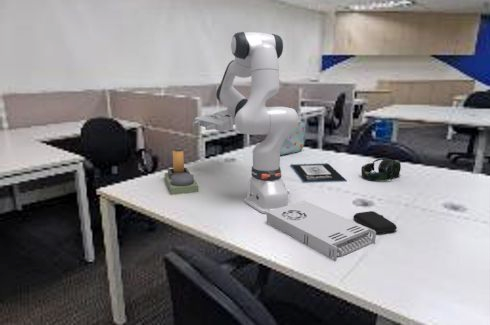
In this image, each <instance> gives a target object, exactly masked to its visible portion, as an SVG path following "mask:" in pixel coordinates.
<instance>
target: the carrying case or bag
mask: <svg viewBox="0 0 490 325" xmlns="http://www.w3.org/2000/svg"><path fill="white" fill-rule="evenodd" d="M353 219H354V220H355V222H356V223H358V224H360V225H363V226H365V227H367V228H370V229H372V230H374V231H376V235H380V234H381V235H382V234H388V233H394V232H395V231H396V230H397V228H398V227H397V225H396V223H394V222H393V221H390V219H388V218H386V217H384V215H383V214H379V213H377V212H376V211H375V210H374V211H373V210H372V211H371V210H369V211H362V212H361V211H360V212H356V213H355V214H354V215H353ZM387 232H388V233H387Z"/></svg>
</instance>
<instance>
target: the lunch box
mask: <svg viewBox="0 0 490 325" xmlns="http://www.w3.org/2000/svg"><path fill="white" fill-rule="evenodd" d="M306 128H307V127H306V123H305V122H304V121H302V120H299V123H298V126H297V128H296V130H295V131H294V132H292V133H291V134H290V135H289V136H288V137H287V138H286V140H285V141H284V143H283V145H282V148H281V153H280V156H282V155H283V156H284V155H292V154H294V153H299V152H301V151H302V150H303V148H304V147H305V141H306V131H307V130H306Z"/></svg>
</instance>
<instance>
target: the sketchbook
mask: <svg viewBox="0 0 490 325" xmlns="http://www.w3.org/2000/svg"><path fill="white" fill-rule="evenodd" d="M290 168H291V169H292V170H293V172H294V173H295V174H296V175H297V177H298V178H299V179H300V181H301V182H302V183H303V184H315V183H321V184H322V183H347V182H348V180H347V179H346V178H345V177H344V176H343V175H342V174H341V173H339V172H338V171H337V170H336V169H335V168H334V167H332V165H330V163H328V162H321V163H320V162H318V163H317V162H316V163H305V162H304V163H291V164H290Z"/></svg>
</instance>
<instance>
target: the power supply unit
mask: <svg viewBox="0 0 490 325" xmlns="http://www.w3.org/2000/svg"><path fill="white" fill-rule="evenodd" d="M266 224H268V225H270V226H272V227H273V228H275V229H277V230H279V231H281V232H283V233H284V234H287V235H288V236H290V237H292V238H294V239H295V240H297V241H299V242H301V243H303V244H305V245H307V246H308V247H310V248H312V249H314V250H315V251H317V252H319V253H321V254H323V255H324V256H326V257H329V258H330V259H333V260H334V261H337V258H338V257H343V256H346V255H347V254H348V255H349V254H350V253H353V252H354V251H355V252H356V251H357V250H360V249H362V248H364V247H366V246H369V245H372V244H374V245H375V244H376V238H377V237H376V236H377V234H376V231H374V230H372V229H370V228H367V227H365V226H363V225H361V224H360V223H358V222H357V221H354V220H353V221H352V220H350V219H348V218H345V217H344V216H341V215H339V214H338V213H334V212H332V211H329V210H327V209H325V208H322V207H320V206H317V205H315V204H313V203H310V202H308V201H306V200H303V201H298V202H296V203H292V204H291V205H288V206H284V207H281V208H277V209H274V210H270V211H267V214H266Z"/></svg>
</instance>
